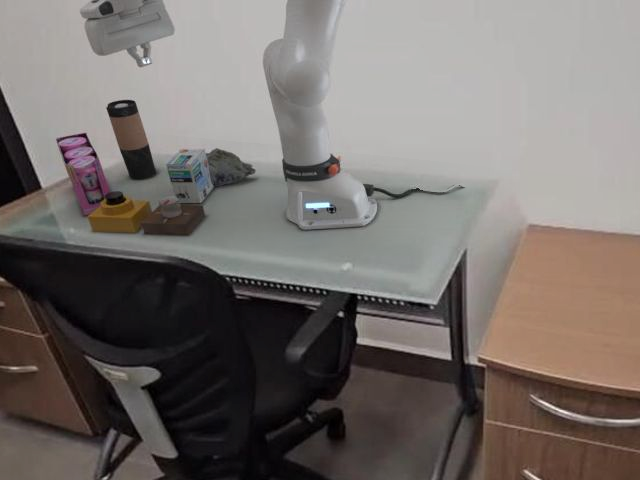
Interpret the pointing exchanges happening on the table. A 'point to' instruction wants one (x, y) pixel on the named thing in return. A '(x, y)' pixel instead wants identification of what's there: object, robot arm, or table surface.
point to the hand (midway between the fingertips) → (145, 65)
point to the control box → (120, 216)
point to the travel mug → (131, 138)
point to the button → (115, 198)
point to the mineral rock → (226, 167)
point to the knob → (170, 207)
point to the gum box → (84, 171)
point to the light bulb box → (190, 175)
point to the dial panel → (174, 221)
